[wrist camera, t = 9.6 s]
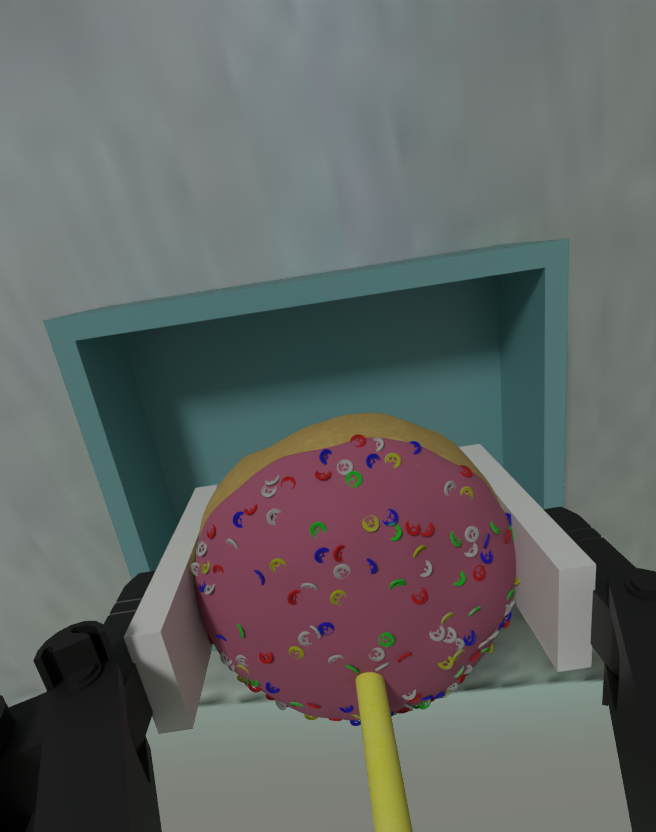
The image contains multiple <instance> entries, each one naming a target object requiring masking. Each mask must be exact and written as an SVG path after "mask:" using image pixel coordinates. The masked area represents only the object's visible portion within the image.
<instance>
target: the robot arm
mask: <svg viewBox="0 0 656 832" xmlns="http://www.w3.org/2000/svg"><path fill="white" fill-rule="evenodd" d="M459 448H460V449H461V450H462V451H463V452H464V453H465V455H466V456H467V457H468V458H469V459H470V460H471V461H472V462H473V464H474V465H475V466H476V467H477V468H478V470H479V471H480V472H481V473H482V474H483V475H484V477H485V478H486V479H487V481H488V482H489V484H490V485H491V487H492V489H493V490H494V492H495V494H496V496H497V498H498V501H499V503H500V506H501V508H502V509H503V510H504V512H505V513H510V514H511V521H512V522H511V523H512V525H511V527H512V528H513V529H512V530H513V534H512V535H513V536H514V538H513V539H514V547H515V555H516V576H517V578H516V581H517V580H518V578H519V579H520V583H519V584H517V585H514V593H513V595H512V599H514V600H515V604H516V606H517V607H518V609H519V611H520V612H521V614H522V615H523V617H524V619H525V620H526V622H527V624H528V625H529V627H530V628H531V630H532V632H533V633H534V635H535V637H536V638H537V640H538V641H539V643H540V645H541V646H542V648H543V650H544V651H545V653H546V654H547V656H548V658H549V659H550V661H551V663H552V664H553V666H554V667H555V669H556V671H557V672H562V671H569V670H575V669H582V668H588V667H591V663H592V646H593V648H594V649H595V650H596V652H597V653H598V654H599V656H600V657H601V658H602V660H603V661H604V662H605V666H604V683H603V700H602V705H607V706H608V704H609V709H610V714H611V720H612V725H613V730H614V736H615V741H616V747H617V752H618V757H619V763H620V768H621V774H622V779H623V784H624V789H625V795H626V800H627V806H628V811H629V817H630V822H631V827H632V832H656V572H655V571H650V570H645V569H640V568H636V567H635V566H634V565H632V564H631V563H630V562H629V561H628V560H627V559H626V558H625V557H624V556H623V555H622V554H621V553H619V552H618V551H617V550H616V549H615V548H614V547H613V546H612V545H611V544H610V543H609V542H607V541H606V540H605V539H604V538H601V535H600V534H599V533H598V532H597V531H596V530H594V529H593V528H591V526H590V525H589V524H588V523H587V522H586V521H585V520H584V519H583V518H581V517H580V516H579V515H578V514H576V513H574V512H571V511H569V510H567V509H565V508H563V507H554V508H548V509H542V508H541V507H540V506H539V505H538V504H537V503H536V501H535V500H534V499H533V498H532V497H531V496H530V495H529V494H528V493H527V492H526V491H525V490H524V489H523V488H522V487H521V486H520V485H519V484H518V483H517V482H516V481H515V480H514V479H513V478H512V477H511V476H510V475H509V473H508V472H507V471H506V470H505V469H504V468H503V467H502V466H501V465H500V464H499V463H498V462H497V461H496V460H495V459H494V458H493V457H492V456H491V455H490V454H489V453H488V452H487V451H486V450H485V449H484V448H483V447H482V445H481V444H475V445H469V446H462V447H459ZM217 487H218V484H217V485H211V486H204V487H198V488H195V490H194V492H193V495H192V497H191V499H190V501H189V503H188V505H187V507H186V509H185V511H184V513H183V515H182V517H181V519H180V522H179V524H178V526H177V528H176V530H175V532H174V534H173V536H172V538H171V540H170V542H169V544H168V546H167V548H166V551H165V553H164V555H163V557H162V559H161V561H160V563H159V565H158V567H157V569H156V571H150V572H143V573H138V574H137V575H136V576H135V577H134V578H133V579H132V580H131V581H130V582H129V583H128V584H127V585H126V586H125V587H124V588H123V590H122V592H121V594H120V596H119V597H118V599H117V604H115V605H114V607H113V608H112V610H111V612H110V616H108V617H107V619H106V621H105V623H104V625H103V624H101V623H99V622H97V621H83V622H80V623H76V624H73V625H70V626H69V627H67V628H65V629H63V630H61V631H59V632H57V633H56V634H55V635H53V636H52V637H51V638H49V639H48V640H47V641H46V642H45V643H44V644H43V645H42V646H41V648H40V649H39V650H38V651H37V654H36V656H35V658H34V663H35V665H36V667H37V670H38V672H39V674H40V676H41V678H42V681H43V683H44V685H45V687H46V689H47V692H45V693H43V694H41V695H39V696H36V697H34V698H31V699H29V700H26V701H24V702H21V703H19V704H16V705H14V706H11V707H9V708H8V706H7V704H6V702H5V700H4V698H3V696H1V695H0V832H162V830H161V823H160V815H159V809H158V802H157V793H156V786H155V779H154V771H153V764H152V757H151V749H150V746H149V744H148V741H147V738H146V736H145V735H146V732H147V729H148V726H149V723H150V720H151V717H153V719H154V722H155V725H156V728H157V730H158V733H159V734H161V733H168V732H174V731H181V730H187V729H192V728H193V725H194V721H195V716H196V712H197V708H198V704H199V700H200V696H201V691H202V687H203V683H204V679H205V675H206V671H207V666H208V662H209V658H210V654H211V650H212V646H213V644H212V645H211V644H210V642H209V639H208V633H207V631H206V629H205V626H204V624H203V622H202V619H201V618H199V617H200V613H199V609H198V604H197V600H196V595H195V589H194V584H195V575H194V574H193V573H192V571H191V564H192V563H194V562H196V548H197V546H198V541H199V533H200V525H201V521H202V517H203V514H204V511H205V509H206V506H207V504H208V502H209V500H210V498H211V497H212V495H213V493H214V492H215V490H216V488H217ZM507 517H508V516H507ZM509 521H510V519H509ZM194 570H195V568H194Z"/></svg>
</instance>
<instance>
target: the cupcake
mask: <svg viewBox="0 0 656 832" xmlns="http://www.w3.org/2000/svg"><path fill="white" fill-rule="evenodd" d="M507 516H508V517H507ZM509 519H510V521H509ZM511 522H512V521H511V514H510V513H505V512H504V510H503V509H502V508H501V506H500V503H499V501H498V498H497V496H496V494H495V492H494V490H493V489H492V487H491V485H490V484H489V482H488V481H487V479H486V478H485V477H484V475H483V474H482V473H481V472H480V471H479V470H478V468H477V467H476V466H475V465H474V464H473V462H472V461H471V460H470V459H469V458H468V457H467V456H466V455H465V453H464V452H463V451H462V450H461V449H460V448H459V447H458V446H457V445H456V444H455V443H453V442H452V441H451V440H450V439H448V438H447V437H445V436H443V435H442V434H440V433H437V432H435V431H432V430H429V429H426V428H423V427H420V426H418V425H415V424H413V423H411V422H408V421H406V420H403V419H400V418H397V417H394V416H391V415H387V414H383V413H357V414H347V415H342V416H338V417H335V418H332V419H329V420H326V421H323V422H320V423H316V424H313V425H310V426H307V427H305V428H302V429H300V430H298V431H296V432H294V433H292V434H291V435H289V436H287V437H286V438H284V439H282V440H280V441H279V442H277V443H275V444H273V445H272V446H270V447H268V448H265V449H263V450H260V451H257V452H254V453H251V454H249V455H247V456H245V457H244V458H242V459H241V460H240V461H239V462H238V463H237V464H236V465H235V466H234V467H233V468H232V469H231V471H230V472H229V473H228V474H227V475H226V476H225V478H224V479H223V480H222V481H221V483H220V484H219V486H218V487H217V488H216V490H215V492H214V493H213V495H212V497H211V498H210V500H209V502H208V504H207V506H206V509H205V511H204V514H203V517H202V521H201V525H200V533H199V541H198V546H197V548H196V562H194V563H192V564H191V571H192V573H193V574H194V575H195V584H194V589H195V595H196V600H197V604H198V609H199V613H200V617H199V618H201V619H202V622H203V624H204V626H205V629H206V631H207V633H208V639H209V642H210V644H211V645H212V644H214V646H215V648H216V649H217V651H218V652H219V654H220V658H221V661H222V662H223V663H224V664H225V665H228V667H229V669H230V670H231V671H232V672H233V671H235V672H236V673H237V674H238V676H237V679H238V680H239V681H241V682H243V683H245V685H246V686H247V687H249V689H250V690H251V691H253V692H260V691H261V690H262V691H263V692H265V693H266V698H267V699H269V700H275V702H276V705H277V706H278V707H279V709H281V710H285V709H286V707H291V708H293V709H295V710H297V711H299V712H302V713H304V714H305V715H304V716H305V718H307V719H309V720H315V719H317V718H318V717H322V718H329V720H332V721H341V720H342V719H344V720H350V723H351V724H352V725H353V726H358V725H361V727H362V735H363V743H364V751H365V759H366V767H367V774H368V782H369V790H370V797H371V804H372V805H371V806H372V813H373V820H374V828H375V832H412V826H411V821H410V815H409V810H408V805H407V799H406V794H405V789H404V783H403V778H402V772H401V767H400V762H399V756H398V751H397V746H396V740H395V735H394V730H393V724H392V719H391V716H393V715H396V714H397V713H406V712H408V711H412V710H413V708H415V709H418V708H420V709H426V708H427V707H428V706H429V705H430V703H431V702H432V701H434V700H435V699H437V698H444V697H447V696H448V695H449V694H450V690H455V689H457V688H458V686H459V685H458V684H459V683H462V682H463V681H464V679H465V677H466V676H468V675H469V673H470V672H471V671H472V669H473V667H474V666H475V665H476V664H477V663H478V661H479V660H480V659H481V658H482V656H483V655H484V654H485V652H486V651H487V653H492V651H493V643H492V641H493V640H496V638H497V636H498V633H499V630H500V629H501V628H502V627H503V628H506V627H508V626H509V623H510V619H511V607H512V606H513V605H514V603H515V600H514V599H512V595H513V593H514V585H517V584H519V583H520V579H519V578H518V580H517V581H516V578H517V576H516V555H515V547H514V539H513V538H514V536H513V535H512V534H513V530H512V529H513V528H512V527H511V525H512V523H511ZM194 568H195V570H194ZM507 614H508V615H507ZM504 620H506V623H505V622H504ZM489 647H490V650H489ZM252 686H254V687H255V688H256V689H255V688H253V687H252ZM454 686H455V687H454ZM450 687H452V688H450ZM445 692H446V694H445ZM425 703H427V704H426V705H425ZM280 705H281V706H280ZM415 705H418V706H415ZM309 716H312V717H309ZM358 720H360V722H359V721H358ZM356 721H357V722H358V723H355V722H356Z"/></svg>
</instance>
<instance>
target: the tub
mask: <svg viewBox="0 0 656 832" xmlns="http://www.w3.org/2000/svg"><path fill="white" fill-rule="evenodd" d="M568 273H569V239H559V240H547V241H535V242H524V243H512V244H505V245H499V246H492V247H486V248H480V249H473V250H467V251H460V252H454V253H448V254H441V255H435V256H428V257H422V258H415V259H409V260H403V261H396V262H390V263H383V264H377V265H370V266H364V267H358V268H351V269H345V270H338V271H332V272H325V273H319V274H313V275H306V276H300V277H293V278H287V279H280V280H274V281H268V282H261V283H255V284H248V285H242V286H235V287H229V288H223V289H216V290H210V291H203V292H197V293H190V294H184V295H178V296H171V297H165V298H158V299H152V300H145V301H139V302H133V303H126V304H120V305H113V306H107V307H100V308H96V309H91V310H87V311H83V312H78V313H74V314H69V315H65V316H61V317H56V318H52V319H47V320H43V321H44V324H45V327H46V330H47V333H48V336H49V339H50V342H51V345H52V348H53V350H54V353H55V356H56V359H57V362H58V365H59V368H60V371H61V374H62V377H63V380H64V383H65V385H66V388H67V391H68V394H69V397H70V400H71V403H72V406H73V409H74V412H75V415H76V418H77V420H78V423H79V426H80V429H81V432H82V435H83V438H84V441H85V444H86V447H87V450H88V453H89V455H90V458H91V461H92V464H93V467H94V470H95V473H96V476H97V479H98V482H99V485H100V488H101V490H102V493H103V496H104V499H105V502H106V505H107V508H108V511H109V514H110V517H111V520H112V523H113V525H114V528H115V531H116V534H117V537H118V540H119V543H120V546H121V549H122V552H123V555H124V558H125V560H126V563H127V566H128V569H129V572H130V575H131V578H132V579H133V578H134V577H135V576H136V575H137V574H138V573H143V572H150V571H156V569H157V567H158V565H159V563H160V561H161V559H162V557H163V555H164V553H165V551H166V548H167V546H168V544H169V542H170V540H171V538H172V536H173V534H174V532H175V530H176V528H177V526H178V524H179V522H180V519H181V517H182V515H183V513H184V511H185V509H186V507H187V505H188V503H189V501H190V499H191V497H192V495H193V492H194V490H195V488H198V487H204V486H211V485H217V484H218V486H219V484H220V483H221V481H222V480H223V479H224V478H225V476H226V475H227V474H228V473H229V472H230V471H231V469H232V468H233V467H234V466H235V465H236V464H237V463H238V462H239V461H240V460H241V459H242V458H244V457H245V456H247V455H249V454H251V453H254V452H257V451H260V450H263V449H265V448H268V447H270V446H272V445H273V444H275V443H277V442H279V441H280V440H282V439H284V438H286V437H287V436H289V435H291V434H292V433H294V432H296V431H298V430H300V429H302V428H305V427H307V426H310V425H313V424H316V423H320V422H323V421H326V420H329V419H332V418H335V417H338V416H342V415H347V414H357V413H383V414H387V415H391V416H394V417H397V418H400V419H403V420H406V421H408V422H411V423H413V424H415V425H418V426H420V427H423V428H426V429H429V430H432V431H435V432H437V433H440V434H442V435H443V436H445V437H447V438H448V439H450V440H451V441H452V442H453V443H455V444H456V445H457V446H458V447H462V446H469V445H475V444H481V445H482V447H483V448H484V449H485V450H486V451H487V452H488V453H489V454H490V455H491V456H492V457H493V458H494V459H495V460H496V461H497V462H498V463H499V464H500V465H501V466H502V467H503V468H504V469H505V470H506V471H507V472H508V473H509V475H510V476H511V477H512V478H513V479H514V480H515V481H516V482H517V483H518V484H519V485H520V486H521V487H522V488H523V489H524V490H525V491H526V492H527V493H528V494H529V495H530V496H531V497H532V498H533V499H534V500H535V501H536V503H537V504H538V505H539V506H540V507H541V508H542V509H548V508H554V507H563V508H564V464H565V416H566V369H567V321H568ZM216 650H217V649H216V648H215V646H214V644H213V646H212V650H211V651H216Z"/></svg>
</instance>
